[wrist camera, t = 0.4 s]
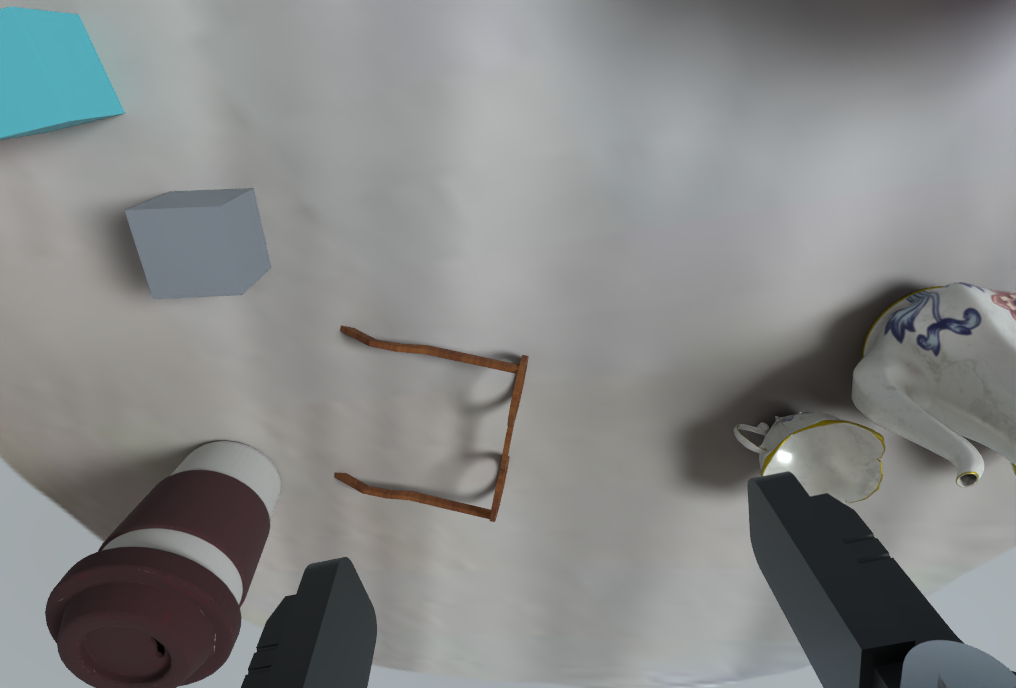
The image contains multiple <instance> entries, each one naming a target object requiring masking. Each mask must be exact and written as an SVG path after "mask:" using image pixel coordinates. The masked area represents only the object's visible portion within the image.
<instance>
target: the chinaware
mask: <svg viewBox="0 0 1016 688" xmlns="http://www.w3.org/2000/svg"><path fill="white" fill-rule="evenodd" d="M852 401H853V403H854V405H855V406H856V407H857V409H858V410H859V411H860V412H861V413H862V414H864V415H865V416H866V417H867V418H868V419H870V420H871V421H873V422H874V423H876V424H877V425H879V426H881V427H883V428H884V429H886V430H889V431H891V432H893V433H895V434H897V435H899V436H901V437H904V438H906V439H908V440H910V441H912V442H914V443H916V444H918V445H920V446H922V447H924V448H926V449H928V450H930V451H932V452H934V453H936V454H938V455H940V456H942V457H943V458H945V459H947V460H949V461H950V462H951V463H953V464H954V465H955V467H956V469H957V477H956V484H957V485H958V486H960V487H969V486H972V485H974V484H975V483H976V482H977V481H978V480H979V479H980V477H981V475H982V474H983V471H984V461H983V458H982V456H981V455H980V453H979V452H978V450H977V449H976V448H975V447H974V446H973V445H972V444H971V443H970V442H969V441H968V440H966V439H965V438H964V437H966V438H969V439H971V440H974V441H976V442H978V443H981V444H983V445H985V446H987V447H989V448H991V449H992V450H994V451H996V452H997V453H999V454H1000V455H1002V456H1003V457H1005V458H1006V459H1008V460H1009V461H1010V464H1011V466H1012V468H1013V471H1014V473H1015V475H1016V293H1013V292H1008V291H997V290H991V289H985V288H981V287H977V286H974V285H971V284H967V283H962V282H960V283H952V284H949V285H946V286H938V287H930V288H925V289H921V290H918V291H915V292H913V293H910V294H908V295H906V296H904V297H903V298H901V299H899V300H898V301H896V302H895V303H893V304H892V305H891V306H889V307H888V308H887V309H886V310H885V311H884V312H883V313H882V314H881V315H880V316H879V317H878V318H877V319H876V321H875V322H874V323H873V325H872V326H871V328H870V330H869V331H868V333H867V335H866V338H865V340H864V344H863V348H862V360H861V361H860V362H859V363H858V365H857V366H856V368H855V369H854V372H853V383H852ZM775 418H776V421H775V423H774V424H773V425H772V427H771V428H770V430H769V426H768V425H767V424H765V423H760V424H759V425H758V426H757V427H753V426H750V425H746V424H738V425H736V426H735V428H734V435H735V437H736V438H737V439H738V441H739V442H740V443H741V444H742V445H744V446H745V447H746V448H748V449H749V450H752V451H754V452H757V453H760V455H759V464H760V469H761V476H766V475H771V474H776V473H782V472H787V471H789V472H791V473H793V474H794V475H795V477H796V478H797V479H798V481H799V482H800V483H801V485H802V486H803V487H804V489H805V490H806V492H807V493H808V494H809V496H815V495H820V494H825V493H828V494H830V495H831V496H833V497H834V498H836V499H837V500H839V501H841V502H842V503H844V504H845V505H846V502H848V503H853V502H857V501H861V500H865V499H866V498H868V497H869V496H871V495H872V494H873V493H874V492H876V491H877V490H878V489H879V486H880V483H881V480H882V477H883V471H882V465H881V461H880V460H879V459H881V458H882V455H883V454H884V452H885V444H884V438H883V436H882V435H881V434H880V433H878V432H875V431H874V430H872V429H870V428H868V427H865V426H862V425H859V424H856V423H852V422H849V421H845V420H841V419H839V418H837V417H834V416H832V415H828V414H824V413H817V412H805V413H802V412H799V413H798V414H794V415H788V416H784V417H778V416H776V417H775ZM740 429H741V430H747V431H751V432H755V433H758V434H761V435H764V436H765V438H764V440H763V442H762V444H761V445H760V446H759V447H758V446H757V445H755V444H754V443H752V442H751V441H750V440H748V439H747V438H746V437H745V436H743V435H742V434H741V433H740V431H739V430H740Z"/></svg>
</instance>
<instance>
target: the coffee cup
mask: <svg viewBox="0 0 1016 688" xmlns="http://www.w3.org/2000/svg"><path fill="white" fill-rule="evenodd" d="M280 491H281V481H280V477H279V474H278V471H277V469H276V468H275V466H274V465H273V463H272V462H271V461H270V460H269V459H268V458H267V457H266V456H265V455H264V454H262V453H261V452H259V451H258V450H256V449H254V448H252V447H250V446H248V445H245V444H242V443H238V442H232V441H218V442H212V443H208V444H205V445H203V446H201V447H199V448H197V449H195V450H194V451H193V452H192V453H190V454H189V455H188V456H187V457H186V458H185V460H184V461H183V462H182V463H181V464H180V465H179V466H178V467H177V468H176V469H175V470H174V472H173V473H172V474H171V475H170V476H169V477H167V478H165V479H164V480H162V481H161V482H160V483H159V484H157V485H156V486H155V488H154V489H153V490H152V491H151V492H150V493H149V494H148V495H147V496H146V497H145V498H144V499H143V500H142V502H141V503H140V504H139V505H138V506H137V507H136V508H135V509H134V510H133V511H132V512H131V513H130V514H129V516H128V517H127V518H126V519H125V520H124V521H123V522H122V523H121V524H120V525H119V526H118V527H117V528H116V530H115V531H114V532H113V533H112V534H111V535H110V536H109V537H108V538H107V539H106V541H105V542H104V543H103V544H102V546H101V547H100V549H99V551H98V552H96V553H94V554H91V555H89V556H87V557H85V558H83V559H82V560H80V561H79V562H77V563H76V564H75V565H74V566H73V567H72V568H71V569H70V570H69V571H68V572H67V573H66V575H65V576H64V577H63V578H62V579H61V581H60V582H59V583H58V584H57V585H56V587H55V588H54V589H53V591H52V592H51V594H50V596H49V598H48V601H47V605H46V611H45V614H46V622H47V626H48V629H49V631H50V633H51V635H52V637H53V639H54V640H55V642H56V643H57V646H58V652H59V655H60V657H61V660H62V661H63V662H64V664H65V666H66V667H67V668H68V669H69V670H70V671H71V672H72V673H73V674H74V675H75V676H76V677H78V678H79V679H81V680H82V681H84V682H85V683H87V684H89V685H91V686H93V687H95V688H176V687H178V686H183V685H188V684H190V683H194V682H197V681H199V680H202V679H204V678H206V677H207V676H209V675H211V674H213V673H214V672H215V671H216V670H218V669H219V668H220V667H221V666H222V665H223V664H224V663H225V662H226V660H227V659H228V657H229V655H230V653H231V651H232V649H233V646H234V644H235V642H236V639H237V637H238V635H239V631H240V627H241V612H240V607H241V605H242V604H243V602H244V600H245V598H246V595H247V592H248V590H249V587H250V584H251V581H252V579H253V576H254V573H255V570H256V568H257V565H258V562H259V559H260V557H261V554H262V551H263V548H264V545H265V543H266V540H267V537H268V534H269V530H270V520H271V517H272V515H273V512H274V509H275V507H276V504H277V501H278V499H279V496H280Z"/></svg>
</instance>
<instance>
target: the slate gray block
mask: <svg viewBox="0 0 1016 688" xmlns="http://www.w3.org/2000/svg"><path fill="white" fill-rule="evenodd" d="M124 211H125V214H126V217H127V220H128V223H129V226H130V229H131V232H132V236H133V239H134V242H135V245H136V248H137V251H138V254H139V257H140V260H141V263H142V267H143V270H144V273H145V276H146V279H147V282H148V285H149V288H150V291H151V295H152V298H153V299H163V298H186V297H208V296H231V295H243V294H244V293H245V292H246V291H247V290H248V289H249V288H250V287H251V286H252V285H253V284H254V283H255V282H256V281H257V280H258V279H260V278H261V277H262V276H263V275H264V274H265V273H266V272H267V271H268V270H269V269H270V268H271V265H270V260H269V256H268V251H267V247H266V242H265V238H264V233H263V229H262V224H261V220H260V215H259V211H258V206H257V202H256V197H255V193H254V188H248V189H224V190H199V191H174V192H168V193H166V194H163V195H161V196H158V197H156V198H153V199H151V200H148V201H146V202H143V203H141V204H139V205H136V206H134V207H131V208H129V209H126V210H124Z"/></svg>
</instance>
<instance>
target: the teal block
mask: <svg viewBox="0 0 1016 688" xmlns="http://www.w3.org/2000/svg"><path fill="white" fill-rule="evenodd" d="M124 113H125V112H124V110H123V108H122V106H121V104H120V102H119V99H118V97H117V95H116V93H115V91H114V89H113V87H112V85H111V82H110V80H109V78H108V76H107V74H106V72H105V70H104V68H103V65H102V63H101V61H100V59H99V57H98V55H97V53H96V51H95V48H94V46H93V44H92V42H91V40H90V38H89V36H88V33H87V31H86V29H85V27H84V25H83V23H82V21H81V19H80V16H79V15H78V14H69V13H61V12H52V11H44V10H35V9H26V8H18V7H7V8H3V9H0V140H3V139H9V138H15V137H22V136H28V135H34V134H40V133H45V132H50V131H54V130H58V129H62V128H66V127H70V126H74V125H79V124H83V123H87V122H91V121H95V120H99V119H103V118H108V117H112V116H116V115H120V114H124Z"/></svg>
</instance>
